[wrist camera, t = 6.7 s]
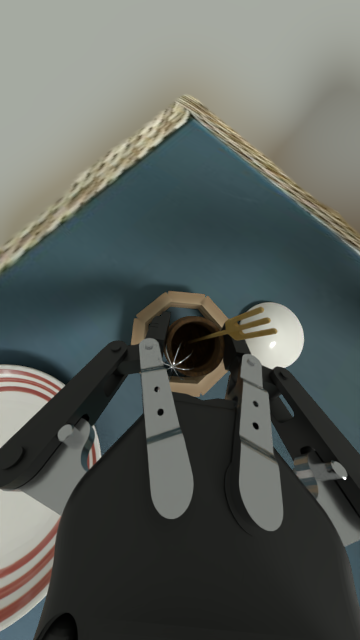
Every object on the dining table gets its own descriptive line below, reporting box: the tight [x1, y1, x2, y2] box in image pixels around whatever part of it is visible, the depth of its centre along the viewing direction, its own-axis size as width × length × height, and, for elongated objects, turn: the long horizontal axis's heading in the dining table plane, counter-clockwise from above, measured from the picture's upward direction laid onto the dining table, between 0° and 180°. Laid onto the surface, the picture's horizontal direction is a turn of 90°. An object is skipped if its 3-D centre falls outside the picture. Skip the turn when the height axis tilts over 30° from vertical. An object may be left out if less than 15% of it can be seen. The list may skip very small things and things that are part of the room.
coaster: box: [239, 302, 304, 369], centre depth 23 cm, size 11×11×1 cm
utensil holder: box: [158, 307, 278, 381], centre depth 12 cm, size 6×6×12 cm
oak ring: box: [131, 291, 228, 397], centre depth 20 cm, size 14×14×3 cm
